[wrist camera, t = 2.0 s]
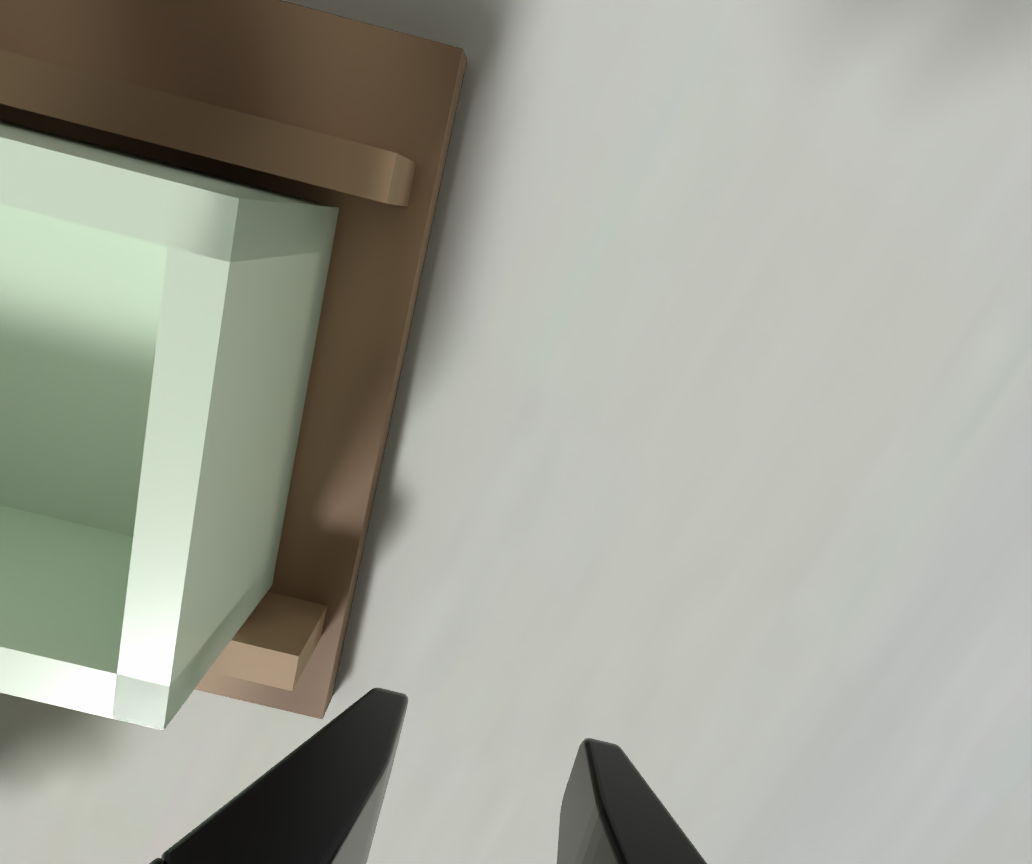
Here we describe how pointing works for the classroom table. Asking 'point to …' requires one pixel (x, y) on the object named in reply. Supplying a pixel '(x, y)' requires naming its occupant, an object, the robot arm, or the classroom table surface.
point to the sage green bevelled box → (143, 415)
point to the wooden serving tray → (291, 170)
